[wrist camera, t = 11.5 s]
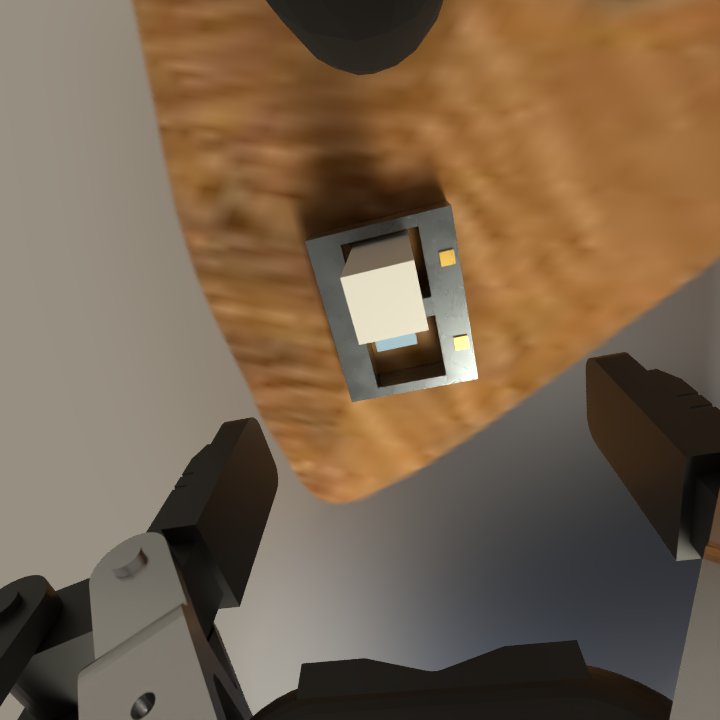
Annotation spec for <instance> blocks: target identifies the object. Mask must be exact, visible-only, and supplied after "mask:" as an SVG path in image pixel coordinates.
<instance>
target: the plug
mask: <svg viewBox="0 0 720 720" xmlns="http://www.w3.org/2000/svg"><path fill="white" fill-rule="evenodd" d="M340 279H341V282H342V286H343V290H344V293H345V297H346V300H347V304H348V307H349V311H350V314H351V318H352V321H353V325H354V328H355V332H356V335H357V339H358V342H359V345H362V344H366V343H371V342H375V343H376V347H377V351H378V352H380V351H385V350H390V349H395V348H399V347H404V346H409V345H413V344H417V337H416V333H417V332H422V331H426V330H429V329H428V324H427V319H426V315H425V310H424V305H423V300H422V296H421V291H420V286H419V281H418V276H417V272H416V267H415V262H414V258H413V253H412V249H411V244H410V239H409V235H408V230H407V229H405V230H401V231H398V232H394V233H390V234H386V235H382V236H378V237H374V238H370V239H366V240H362V241H358V242H355V243H354V244H353V246H352V249H351V251H350V254H349V257H348V259H347V262H346V264H345V267H344V270H343V272H342V275H341V277H340Z"/></svg>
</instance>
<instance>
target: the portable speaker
mask: <svg viewBox="0 0 720 720" xmlns="http://www.w3.org/2000/svg"><path fill="white" fill-rule="evenodd" d="M266 1H267V2H268V4H269V5H270V6H271V7H272V9H273V10H274V11H275V12H276V14H277V15H278V16H279V17H280V19H281V20H282V21H283V22H284V24H285V25H286V26H287V27H288V28H289V29H290V30H291V31H292V32H293V33H294V34H295V35H296V36H297V38H298V39H299V40H300V41H301V42H302V43H303V44H304V45H305V46H306V47H307V48H308V49H309V51H310V52H311V53H312V54H313V55H314V56H315V57H316V58H317V59H319V60H321V61H323V62H325V63H326V64H328V65H330V66H332V67H334V68H336V69H340V70H343V71H346V72H350V73H353V74H356V75H363V74H374V73H377V72H379V71H382V70H385V69H387V68H390V67H393V66H396V65H397V64H399V63H400V62H401V61H402V60H404V59H405V58H406V57H408V56H409V55H410V54H411V53H413V52H414V51H415V50H416V49H417V48H418V46H419V45H420V43H421V42H422V40H423V39H424V37H425V36H426V35H427V33H428V32H429V30H430V29H431V27H432V26H433V24H434V23H435V21H436V20H437V17H438V15H439V12H440V9H441V6H442V3H443V0H266ZM334 68H333V69H334Z"/></svg>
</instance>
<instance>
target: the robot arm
mask: <svg viewBox="0 0 720 720" xmlns="http://www.w3.org/2000/svg"><path fill="white" fill-rule="evenodd" d="M586 396H587V420H588V425H589V429H590V432H591V435H592V437H593V440H594V442H595V443H596V445H597V446H598V448H599V449H600V451H601V452H602V453H603V455H604V456H605V458H606V459H607V461H608V462H609V464H610V465H611V467H612V468H613V469H614V471H615V472H616V474H617V475H618V477H619V478H620V480H621V481H622V483H623V484H624V485H625V487H626V488H627V490H628V491H629V493H630V494H631V496H632V497H633V499H634V500H635V501H636V503H637V504H638V506H639V507H640V509H641V510H642V512H643V513H644V514H645V516H646V517H647V519H648V520H649V522H650V523H651V525H652V526H653V528H654V529H655V531H656V532H657V533H658V535H659V536H660V538H661V539H662V541H663V542H664V544H665V545H666V546H667V548H668V549H669V551H670V552H671V554H672V555H673V557H674V558H675V560H676V561H679V560H690V559H699V558H702V559H703V561H702V565H701V570H700V575H699V580H698V585H697V589H696V594H695V599H694V604H693V609H692V613H691V619H690V624H689V628H688V633H687V638H686V642H685V647H684V652H683V657H682V661H681V667H680V671H679V676H678V681H677V685H676V690H675V695H674V700H673V701H672V700H670V699H668V698H667V697H666V696H664V695H662V694H661V693H659V692H657V691H655V690H653V689H651V688H649V687H648V686H646V685H644V684H642V683H640V682H638V681H635V680H633V679H630V678H628V677H625V676H623V675H621V674H618V673H615V672H611V671H608V670H605V669H601V668H598V667H593V666H588V665H586V663H585V661H584V658H583V655H582V653H581V650H580V648H579V645H578V642H577V640H573V641H562V642H549V643H538V644H526V645H515V646H504V647H501V648H499V649H496V650H493V651H491V652H488V653H485V654H483V655H480V656H477V657H475V658H472V659H469V660H467V661H464V662H462V663H459V664H456V665H453V666H451V667H448V668H445V669H443V670H439V671H424V670H419V669H415V668H409V667H405V666H400V665H395V664H390V663H385V662H380V661H375V660H370V659H364V658H363V659H351V660H341V661H340V660H339V661H328V662H317V663H304V664H302V666H301V672H300V678H299V684H298V689H296V690H293V691H290V692H289V693H287V694H285V695H283V696H281V697H279V698H277V699H276V700H274V701H273V702H271V703H270V704H268V705H267V706H266V707H264V708H262V709H261V710H260V711H259V712H258V713H256V714H255V715H254V716H253V715H252V712H251V711H250V708H249V706H248V704H247V702H246V699H245V697H244V694H243V691H242V689H241V686H240V684H239V681H238V679H237V676H236V674H235V671H234V669H233V666H232V664H231V661H230V658H229V656H228V653H227V651H226V648H225V646H224V643H223V641H222V638H221V636H220V633H219V630H218V629H217V627H216V625H215V623H214V619H215V616H216V614H217V611H218V609H221V608H231V607H240V604H241V601H242V598H243V595H244V591H245V588H246V585H247V582H248V579H249V576H250V573H251V569H252V566H253V563H254V560H255V557H256V554H257V551H258V548H259V545H260V541H261V538H262V535H263V532H264V529H265V526H266V523H267V520H268V516H269V513H270V510H271V507H272V504H273V501H274V498H275V494H276V491H277V487H278V473H277V468H276V465H275V462H274V459H273V457H272V454H271V452H270V449H269V447H268V444H267V442H266V440H265V437H264V434H263V432H262V430H261V427H260V425H259V423H258V421H257V420H256V419H255V418H253V417H252V418H246V419H240V420H235V421H229V422H225V423H223V424H222V426H221V428H220V429H219V431H218V433H217V434H216V436H215V438H214V439H213V441H212V443H211V444H208V445H206V446H205V447H204V448H203V449H202V450H201V451H200V452H199V453H198V454H197V455H195V456H194V457H193V458H192V459H191V461H190V463H189V464H188V466H187V467H186V469H185V471H184V472H183V474H182V475H183V477H180V479H179V480H178V482H177V484H176V485H175V490H172V492H171V493H170V495H169V496H168V498H167V500H166V501H165V503H164V505H163V506H162V508H161V510H160V511H159V513H158V514H157V516H156V517H155V519H154V521H153V522H152V524H151V526H150V527H149V529H148V530H147V532H146V533H142V534H139V535H136V536H133V537H131V538H129V539H127V540H125V541H123V542H122V543H120V544H119V545H117V546H116V547H115V548H113V549H112V550H111V551H110V552H108V553H107V554H106V555H105V556H104V557H103V558H102V559H101V561H100V562H99V563H98V564H97V566H96V567H95V569H94V570H93V572H92V574H91V577H90V578H89V579H86V580H83V581H81V582H78V583H76V584H73V585H70V586H68V587H65V588H63V589H60V590H58V591H55V590H54V589H53V588H52V586H51V585H50V584H49V582H48V581H47V580H46V579H45V578H44V577H43V576H40V575H32V576H27V577H24V578H21V579H18V580H16V581H14V582H12V583H10V584H8V585H6V586H4V587H3V588H1V589H0V706H1V705H2V703H3V701H4V700H5V698H6V697H7V695H8V694H9V692H10V693H11V694H12V695H13V696H14V697H15V698H16V699H17V700H18V701H19V702H20V703H21V704H22V705H23V706H24V707H25V708H24V710H23V711H22V713H21V715H20V717H19V718H18V720H720V410H719V409H718V408H716V407H713V406H712V403H710V402H709V401H708V400H707V399H705V398H704V397H703V396H702V395H698V392H697V391H696V390H694V389H693V388H692V387H691V386H689V385H688V384H687V383H686V382H684V381H683V380H682V379H680V378H678V377H675V376H673V375H670V374H668V373H665V372H663V371H660V370H658V369H654V370H649V371H647V370H646V369H645V368H644V367H643V366H641V365H640V364H639V363H638V362H637V361H636V360H635V359H634V358H632V357H631V356H630V355H629V354H628V353H626V352H622V353H616V354H611V355H605V356H600V357H594V358H589V359H588V361H587V363H586Z"/></svg>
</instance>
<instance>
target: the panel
mask: <svg viewBox="0 0 720 720" xmlns="http://www.w3.org/2000/svg"><path fill="white" fill-rule="evenodd" d="M417 226H418V231H419V237H420V242H421V247H422V253H423V258H424V263H425V268H426V274H427V279H428V284H429V287H427V288H422V289H420V291H421V296H422V300H423V305H424V310H425V315H426V317H428V316H433V315H434V316H435V322H436V327H437V332H438V338H439V343H440V348H441V354H442V359H443V361H442V362H437V363H432V364H426V365H421V366H416V367H411V368H406V369H400V370H395V371H390V372H385V373H380V374H379V373H378V370H377V366H376V362H375V358H374V354H373V350H372V346H371V343H366V344H362V345H359V342H358V339H357V335H356V332H355V328H354V325H353V321H352V318H351V314H350V311H349V307H348V304H347V300H346V297H345V293H344V290H343V286H342V282H341V279H340V277H341V275H342V272H343V270H344V267H345V264H346V262H347V259H348V253H347V249H346V245H345V244H347V243H351V242H355V241H359V240H363V239H367V238H371V237H375V236H380V235H384V234H388V233H392V232H396V231H400V230H404V229H408V228H413V227H417ZM305 243H306V246H307V250H308V253H309V257H310V260H311V263H312V267H313V270H314V274H315V277H316V280H317V284H318V287H319V291H320V294H321V298H322V301H323V304H324V308H325V311H326V315H327V318H328V321H329V325H330V328H331V332H332V335H333V338H334V342H335V345H336V349H337V352H338V356H339V359H340V362H341V366H342V369H343V373H344V376H345V379H346V383H347V386H348V390H349V393H350V396H351V400H352V402H355V401H360V400H366V399H371V398H376V397H382V396H387V395H393V394H398V393H404V392H409V391H414V390H420V389H425V388H431V387H436V386H441V385H447V384H452V383H458V382H463V381H469V380H474V379H478V375H477V368H476V362H475V355H474V349H473V342H472V336H471V329H470V323H469V316H468V310H467V304H466V297H465V291H464V284H463V278H462V271H461V265H460V258H459V252H458V245H457V239H456V232H455V226H454V220H453V213H452V207H451V204H449V203H448V202H447V201H445V202H441V203H437V204H433V205H429V206H425V207H421V208H417V209H413V210H409V211H405V212H401V213H397V214H393V215H389V216H385V217H381V218H377V219H373V220H369V221H365V222H361V223H357V224H353V225H349V226H345V227H341V228H337V229H333V230H329V231H325V232H321V233H317V234H313V235H310V236H309V238H308V239H307V240H306V241H305Z"/></svg>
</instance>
